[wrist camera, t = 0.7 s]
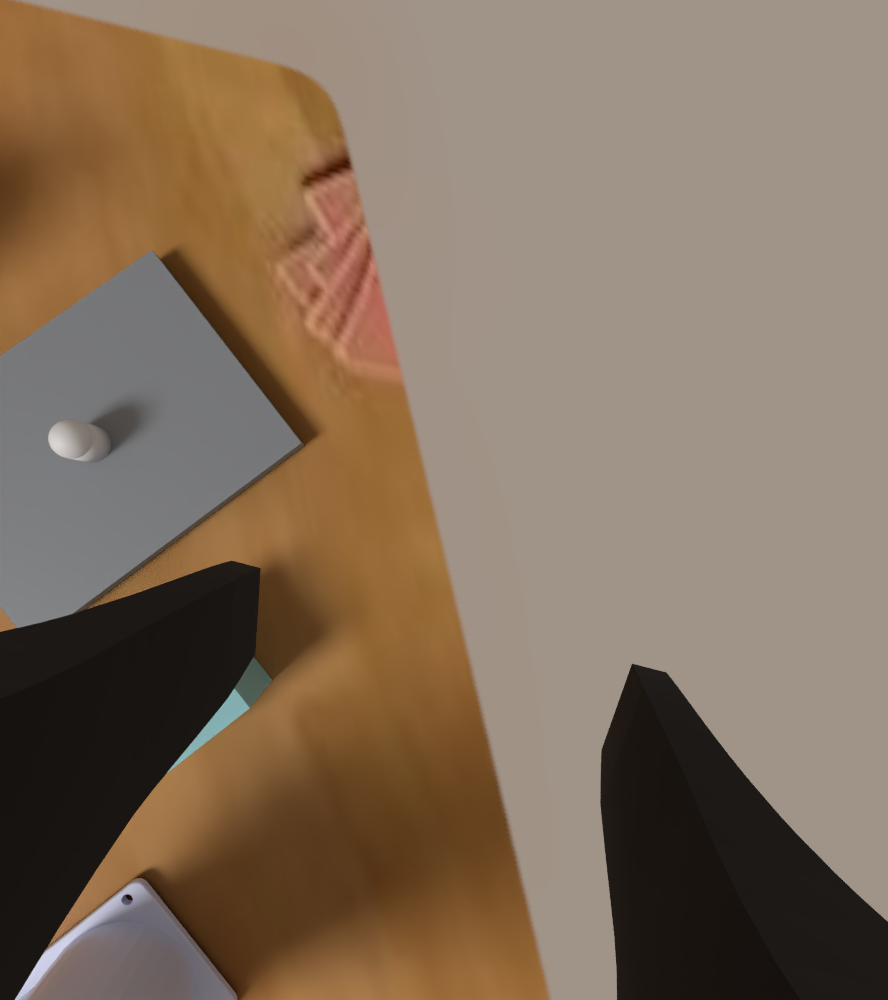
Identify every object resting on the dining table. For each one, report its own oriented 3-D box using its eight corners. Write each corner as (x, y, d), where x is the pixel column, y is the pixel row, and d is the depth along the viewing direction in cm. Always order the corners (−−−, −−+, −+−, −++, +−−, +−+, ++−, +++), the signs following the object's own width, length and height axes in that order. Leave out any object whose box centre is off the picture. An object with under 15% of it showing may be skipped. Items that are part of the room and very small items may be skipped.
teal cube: (190, 743, 30) (153, 783, 25) (128, 664, 30) (80, 690, 25) (272, 680, 30) (249, 708, 26) (211, 602, 30) (178, 616, 26)
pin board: (43, 640, 30) (-9, 657, 26) (-110, 447, 29) (-184, 437, 26) (304, 445, 31) (291, 435, 27) (160, 258, 31) (127, 222, 27)
